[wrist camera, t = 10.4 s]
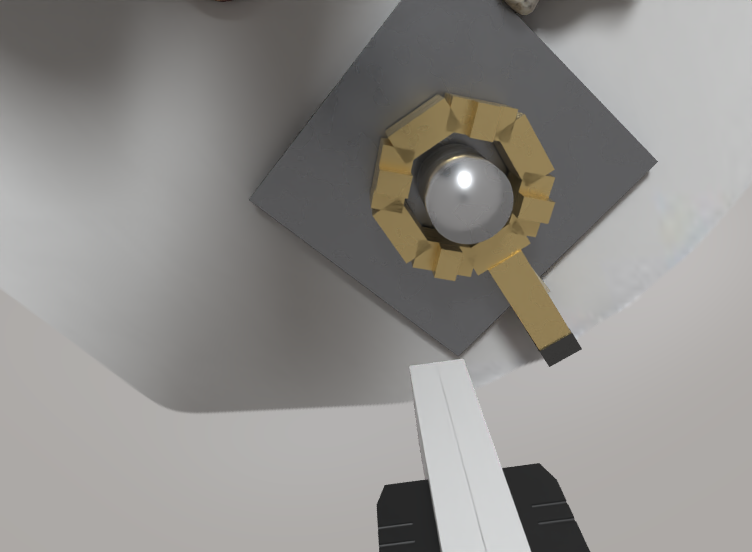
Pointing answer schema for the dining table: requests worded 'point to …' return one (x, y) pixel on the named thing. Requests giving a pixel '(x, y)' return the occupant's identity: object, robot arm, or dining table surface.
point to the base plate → (397, 91)
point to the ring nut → (505, 246)
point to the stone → (522, 6)
